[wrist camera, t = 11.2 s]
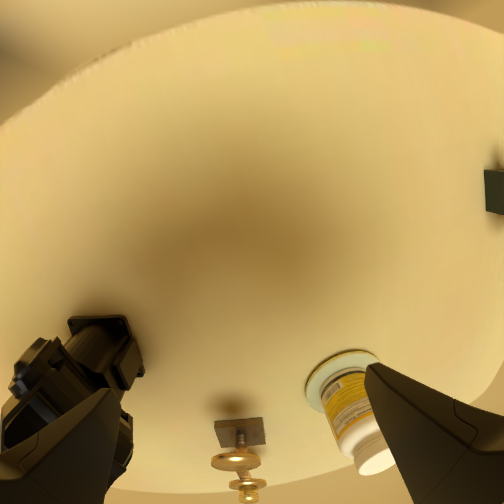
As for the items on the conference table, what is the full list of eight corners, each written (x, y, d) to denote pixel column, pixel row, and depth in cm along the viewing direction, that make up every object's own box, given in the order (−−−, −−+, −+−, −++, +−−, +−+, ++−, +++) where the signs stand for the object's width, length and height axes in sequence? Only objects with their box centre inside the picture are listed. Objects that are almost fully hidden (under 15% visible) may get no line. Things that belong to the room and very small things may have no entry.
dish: (304, 413, 25) (306, 420, 24) (304, 358, 23) (307, 364, 22) (373, 397, 25) (376, 402, 25) (383, 340, 23) (388, 346, 22)
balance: (227, 459, 27) (228, 509, 19) (206, 393, 24) (199, 458, 16) (267, 455, 27) (274, 506, 20) (258, 389, 24) (265, 454, 16)
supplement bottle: (368, 396, 24) (406, 464, 15) (319, 411, 24) (345, 487, 14) (371, 358, 23) (421, 430, 13) (317, 374, 23) (351, 458, 13)
